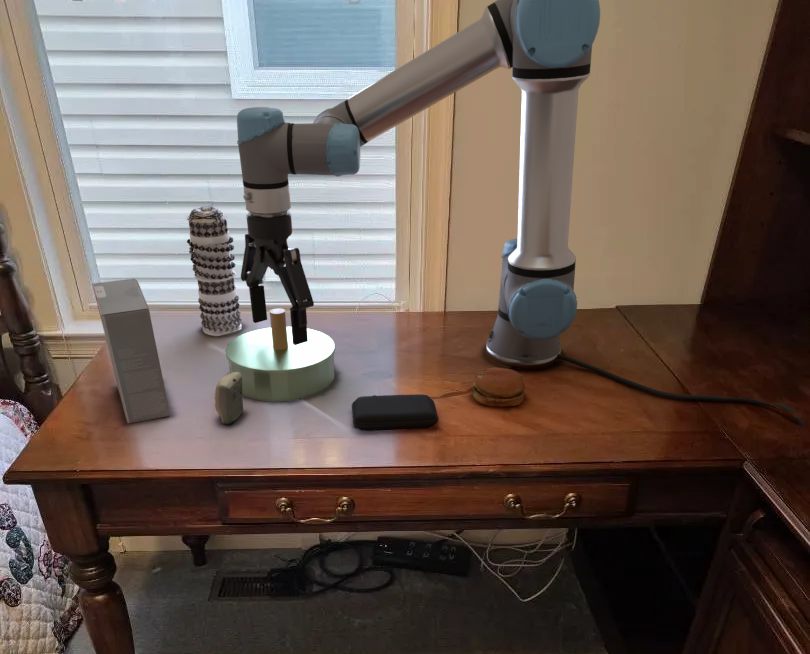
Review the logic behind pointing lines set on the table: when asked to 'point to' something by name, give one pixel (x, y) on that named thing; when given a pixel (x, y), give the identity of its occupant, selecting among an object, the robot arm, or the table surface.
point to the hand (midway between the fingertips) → (279, 331)
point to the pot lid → (279, 348)
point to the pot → (285, 382)
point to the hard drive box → (132, 349)
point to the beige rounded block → (229, 398)
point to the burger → (499, 387)
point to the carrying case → (394, 412)
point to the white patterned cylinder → (214, 270)
